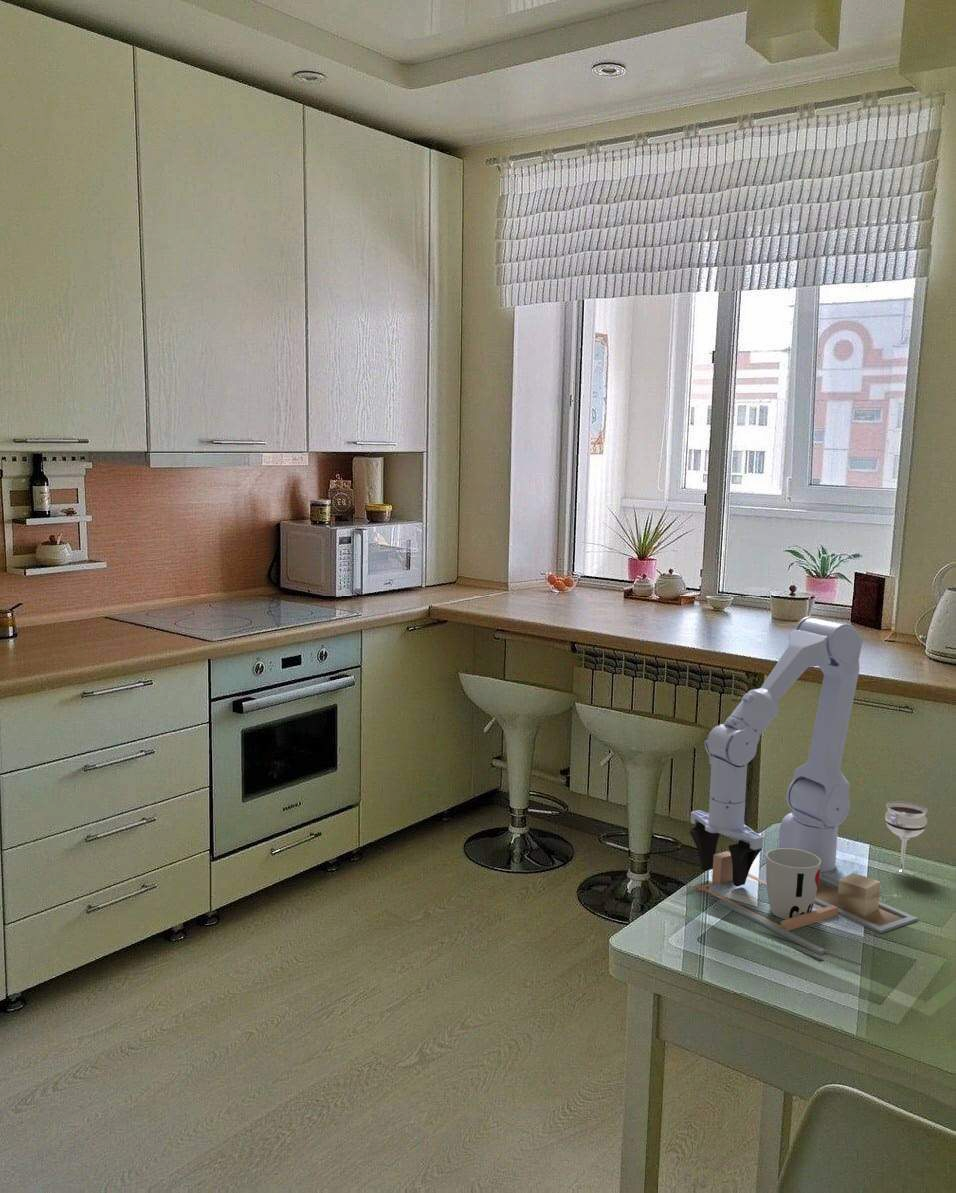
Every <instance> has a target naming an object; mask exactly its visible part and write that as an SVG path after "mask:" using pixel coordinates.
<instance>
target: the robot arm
mask: <svg viewBox="0 0 956 1193" xmlns="http://www.w3.org/2000/svg"><path fill="white" fill-rule="evenodd" d="M788 641H789V643H788V646H787V647H786V649H785V650H784V652H783V653H782V655H781V657H780V658H779V659H778V661H777V663H776V664H775V666H774V667H773V669H772V670H771V672H770V673H769V675H768V676H767V678H766V679H765V681H764V682H763V683H762V685H761V687H759V688H756V689H755V688H754V689H750V690H749V691H748V692H746V693H745V694H743V695H742V697H741V701H740V702H739V704H738V705H737V706H736V708H734V709H733V710H732V713H731V714H730V715H729V716H728V717H727V719H726V720H725V721H724V723H722V724H721V723H720V724H719V725H717V726H715V727H713V728H712V729H711V730H710V732H709V733H708V735H707V738H706V740H704V749H705V750H706V753H707V754H708V757H709V762H708V763H709V764H710V783H709V785H710V786H709V802H708V804H709V805H708V806H709V807H708V812H706V811H703V810H700V809H699V810H693V811H691V812H690V823H691V824H693V825H695V826H694V827H691V828H690V829H689V834H690V836H691V837H692V839H693V842H694V844H695V846H696V850H697V853H698V858H699V861H700V867H701V871H703V872H706V871H710V870H713V856H714V854H717V853H716V852H717V847H718V846H717V845H718V842H719V838H720V835H722V836H725V837H728V838H730V839H732V840H734V841H736V842H738V843H735V844H730V845H728V850H729V851H728V852H730V854H731V858H732V865H733V881H732V885H733V886H735V887H740V886H745V885H746V883H747V882H746V881H747V879H748V877H749V876H748V874H750V869H751V867H752V865H753V863H754V861H755V860H756V859H757V857H758V855H759V854H760V852H762V850H763V847H764V836H763V835H761V834H759V833H757V831H754V830H753V829H752V828H750V827H749V826H748V825H746V824H745V812H746V811H745V810H746V809H745V808H746V795H747V794H746V792H747V778H748V776H747V774H748V763H750V762H751V761H752V760H753V759H754V758H755V756H756V754H757V749H758V744H759V742H760V739H761V737H760V736H761V735H762V734H763V732H764V731H765V730H766V728H767V727H768V726H769V725H770V724H771V722H772V721H773V720H774V718H775V717H776V715H777V714H778V713H779V710H780V709H779V703H778V702H779V700H780V699H781V698H782V697H783V696H784V695H785V693H786V692H788V690H789V689H790V688H791V687H792V685H793V684H795V682H796V681H797V680H798V679H799V678H800V677H801V676H802V674H804V672H805V671H806V670H807V669H808V668H811V667H818V668H819V669H820V670H821V673H823V680H822V684H821V690H820V694H819V699H818V704H817V710H816V715H815V720H814V725H813V729H812V735H811V741H810V746H809V751H808V756H807V760H806V762H805V763H804V764H802V765H800V766H798V767H797V768H795V770H794V775H793V778H792V780H791V782H790V784H789V785H788V787H787V789H786V793H785V794H786V795H785V797H786V803H787V805H788V807H789V808H790V809H791V810H792V812H789V813H787V814H786V815H785V816H784V817H783V818H782V820H781V823H780V824H779V829H778V844H777V845H778V846H777V849H780V848H789V849H798V850H803V851H806V852H809V853H812V854H814V855H816V856H817V857H819V858H820V860H821V867H820V873H821V872H823V873H824V872H830V871H833V870H835V868H836V861H837V860H836V858H837V847H838V833H839V832H838V830H839V826H842V823H843V822H844V821H845V820H846V819H847V818H848V816H849V814H850V813H849V812H850V809H851V802H850V789H851V788H850V787H851V784H850V783H849V781H848V779H847V778H846V777H845V775H844V773H842V772H843V771H842V770H841V765H842V759H843V757H844V756H843V755H844V750H845V745H846V740H847V736H848V735H847V734H848V730H849V725H850V721H851V720H850V719H851V714H852V709H853V703H854V700H855V694H856V689H857V685H858V678H859V674H860V655H861V653H862V652H861V651H862V645H863V637H862V636H861V634H860V633H859V632H858V630H857V629H856V628H855V627H854V626H853V625H852V624H850V623H839V622H835V621H830V620H826V619H820V618H816V617H814V616H805V617H803V618H801V619H800V620H799V621H798V622H797V623H796V626H795V627H794V629H793V630H792V631H791V632H789V635H788Z"/></svg>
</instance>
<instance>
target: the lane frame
mask: <svg viewBox="0 0 956 1193" xmlns="http://www.w3.org/2000/svg"><path fill="white" fill-rule="evenodd" d="M819 882H820V883H823V884H825V885H827V886H830V887H832V888H834V889H836V890H838V887H839V882H838V883H837V882H835V881H832V880H830V879H828V878H825V877H824V876H821V875H819ZM719 904H721V905H722V906H723V907H724V906H725V907H726V908H727V909H730V910H732V911H734V912H736V913H737V914H740V915H742V916H743V917H746V918H748V919H749V920H752V921H753V922H755V923H757V924H759V925H762V926H763V927H764V928H767V929H769V930H771V931H773V932H775V933H777V934H778V935H780V936H783V937H785V938H787V939H789V940H791V941H793V942H795V943H796V944H799V945H801V947H802V946H803V947H805V948H807V949H809V950H811V951H813V952H814V953H816V954H818V955H823V954H825V953H826V949H824V948H823V947H820V946H818V945H817V944H815V943H812V942H810V941H808V940H806V939H805V938H803V937H800V936H799V935H796V934H795V933H793V932H790V931H786V930H784V929H782V928H780V927H778V926H777V925H775V924H773V923H771V922H769V921H767V920H765V919H763V918H761V917H759V916H757V915H755V914H753V913H751V912H749V911H747V910H745V909H743V908H741V907H739V906H737V905H735V904H733V903H731V902H729V901H727V900H722V899H720V901H719ZM814 904H815V905H818V906H820V907H822V908H825V907H828V906H831V904H829V903H827V902H824V901H822V900H820V899H818V898H815V901H814ZM878 908H880V909H882V910H885V911H887V912H889V913H891V914H894V915H896V916H898V917H901V918H903V919H900V920H897V921H894V922H891V923H888V924H885V925H883V926H880V927H879V926H877V925H875V924H873V923H871V922H868V921H866V920H864V919H862V918H860V917H857V916H855V915H853V914H851V913H849V912H846V911H844V910H842V909H840V908H838V915H839V916H842V917H844V918H846V919H848V920H850V921H853V922H855V923H857V924H860V925H862V926H864V927H866V928H868V929H870V930H873V931H874V932H877V933H879V934H883V933H886V932H889V931H892V930H894V929H898V928H901V927H903V926H906V925H909V924H912V923H915V922H917V921H918V919H919V918H918V917H916V916H914V915H911V914H909V913H907V912H905V911H903V910H900V909H898V908H895V907H893V906H892V905H888V904H886V903H884V902H882V901H880V900H879V906H878ZM788 946H789V947H790V949H791V948H792V949H794V950H795V951H797V952H799V953H801V954H803V955H805V956H807V957H809V958H810V959H813V960H815V961H817V962H818V963H821V962H824V961H825V960H824V959H823V958H822V959H821V958H819V957H817V956H814V955H812V954H810V953H807V952H804V951H803V950H800V949H797V948H795V947H791V946H790V945H788Z"/></svg>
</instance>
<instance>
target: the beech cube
mask: <svg viewBox="0 0 956 1193" xmlns="http://www.w3.org/2000/svg"><path fill="white" fill-rule="evenodd" d="M838 884H839V887H838V889H837V890H838V901H837V907H838V908H841V909H843V910H846V911H849V912H852V913H855V914H857V915H860V916H863V917H865V916H867V915H868V914H870V913H872V912H874V911H876V910H877V909H878V908H879V907H878V906H879V901H880V891H881V881H880V880H877V879H874V878H871V877H869V876H868V877H867V876H864V875H861V874H859V873H855V872H851V873H850V874H848V875H846V876H844V877H842V878H839V879H838Z"/></svg>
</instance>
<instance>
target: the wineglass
mask: <svg viewBox="0 0 956 1193" xmlns="http://www.w3.org/2000/svg"><path fill="white" fill-rule="evenodd" d="M885 806H886V809H887V811H885V814H884V822H885V824H886V827H887V828H888V829H889V830H890V832H891V833H893V834H894V835H896V836H898V837H899V839H900V840H901V852H900V856H901V858H900V868H893V871H898V872H901V873H903V874H906V875H907V874H908V875H910V876H913V873H914V872H912V871H909V870H906V869H904V866H905V865H904V864H905V858H906V856H905V855H906V848H907V841H909V840H910V838H911V839H912V838H915V837H918V836H920V835H921V833H923V832H924V831H925V830H926V828H927V826H928V818H927V817H926V814H927V813H928V808H926V807H925V806H924V805H920V804H918V803H917V804H916V803H914V802H908V801H891V802H890V801H889V802H887V803H886V804H885ZM911 872H912V873H911Z"/></svg>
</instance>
